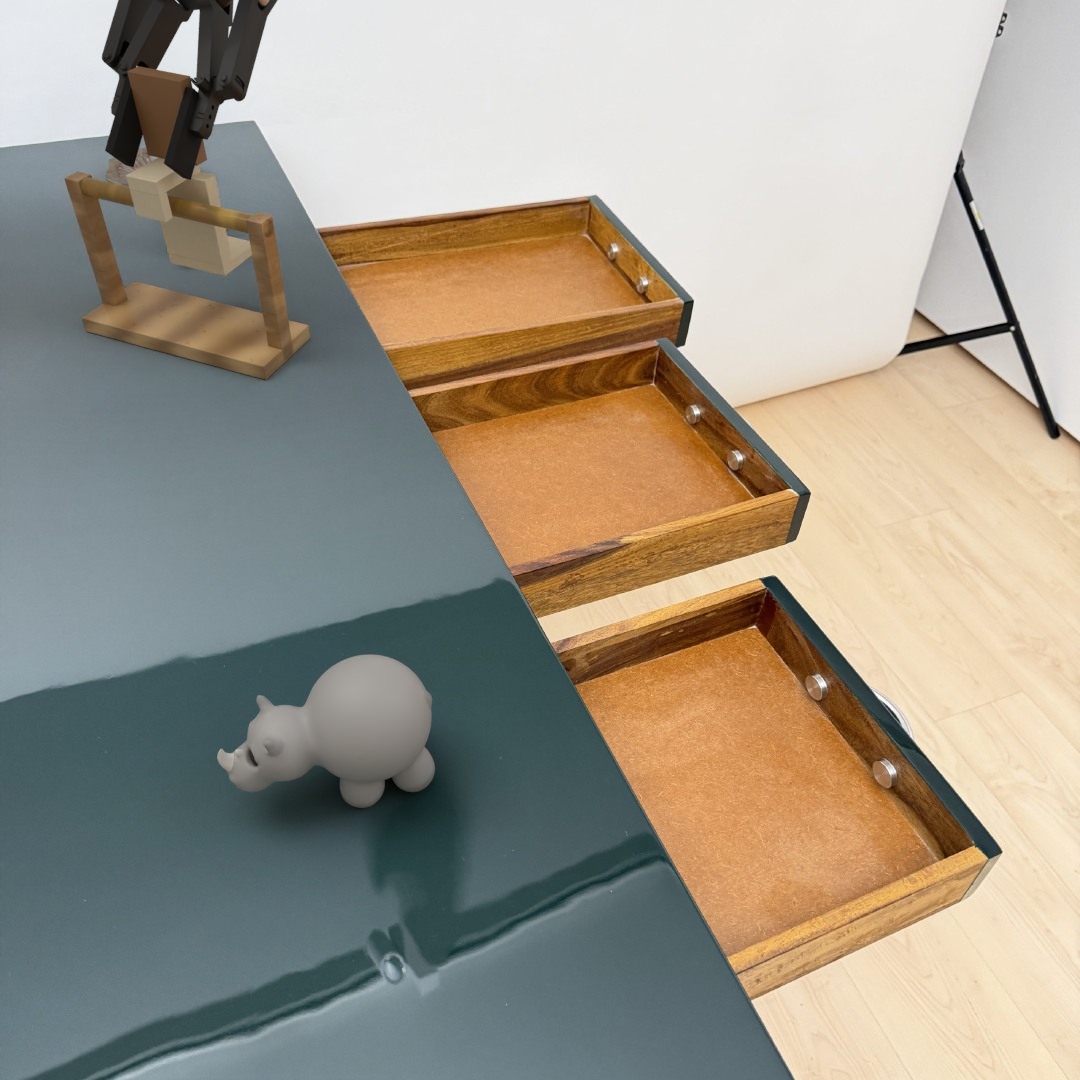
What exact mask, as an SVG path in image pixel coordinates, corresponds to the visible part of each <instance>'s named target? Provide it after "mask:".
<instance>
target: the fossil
mask: <svg viewBox="0 0 1080 1080" xmlns="http://www.w3.org/2000/svg"><path fill="white" fill-rule="evenodd" d="M149 162H151V159H150V156H149V155H148V154H147V149H146V146H143V147H139V150H138V153H137V157H136V160H135V164H134V167H130V166H126V165H124V164H123V163H122V162H120V161H119V160H117V159H116V158H115V157H112V158H110V159H108V168H107V170H106V173H105V181H107V182H111V183H116V184H120V185H124V186H128V182H127V178H126V175H128V174H130V173H131V172H133V171H135V170H137V169H139V168H140V167H142V166H144V165H146V164H148V163H149Z"/></svg>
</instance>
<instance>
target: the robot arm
mask: <svg viewBox="0 0 1080 1080" xmlns="http://www.w3.org/2000/svg"><path fill="white" fill-rule="evenodd" d="M234 2H235V1H234V0H117V3H116V7H115V9H114V14H113V16H112V20H111V24H110V26H109V29H108V32H107V33H108V34H107V37H106V39H105V44H104V47H103V49H102V54H101V61H102V62H103V63H104V64H105V65H107V66H108V67H109V68H110V69H111V70H112V71H114V72H115V73H116V74H117V75H118V80H117V81H118V82H117V84H116V88H115V92H114V96H113V99H112V102H111V105H110V114H111V115H113V116H114V118H113V121H112V125H111V128H110V131H109V135H108V138H107V142H106V146H105V149H104V151H105V152H106V153H108V154H109V155H110V156H112V158H114V157H115V158H116V159H117V160H119V161H120V162H122V163H123V164H124V165H126V166H130V167H134V164H135V160H136V157H137V153H138V150H139V148H140V146H141V142H142V139H143V133H142V129H141V125H140V121H139V117H138V113H137V109H136V105H135V101H134V97H133V93H132V89H131V85H130V81H129V77H128V73H127V71H129V70H131V69H134V68H136V67H138V66H140V67H145V68H150V69H155V70H158V68H159V67H160V64H161V62H162V60H163V58H164V57H165V55H166V53H167V51H168V49H169V47H170V46H171V44H172V43H173V42H172V41H173V40H174V38H175V36H176V35H177V33H178V30H179V28H180V27H181V25H182V24H183V23H187V22H188V21H190V18H191V16H192V15H193V13H194V11H199V14H198V15H199V17H198V33H197V34H198V35H197V36H198V37H197V55H196V56H197V57H196V76H195V77H190V78H191V83H192V85H193V86H195V87H196V88H197V89H198V90H196V89H195V88H194V87H192V88H190V87H186V88H185V91H184V95H183V97H182V101H181V104H180V108H179V111H178V115H177V118H176V122H175V125H174V129H173V132H172V136H171V140H170V143H169V147H168V150H167V154H166V157H165V161H164V164H165V165H166V166H168V167H169V168H170V169H172V170H173V171H174V172H176V173H177V174H178V175H180V176H181V177H182V178H184V179H189V180H191V177H192V174H193V170H194V167H195V163H196V160H197V156H198V153H199V149H200V146H201V142H202V139H203V140H206V141H207V140H209V138H210V137H211V136H212V133H213V129H214V125H215V122H216V119H217V116H218V112H219V108H220V106H221V105H223V104H224V102H226V101H230V100H234V101H236V102H242V101H244V100H245V98H246V96H247V93H248V89H249V86H250V83H251V78H252V75H253V71H254V67H255V64H256V60H257V56H258V53H259V49H260V45H261V41H262V38H263V34H264V30H265V27H266V23H267V19H268V16H269V15H270V13H271V12H272V11H273V8H274V7H275V5H276V4H277V2H278V0H238V1H237V5H236V8H235V12H234Z"/></svg>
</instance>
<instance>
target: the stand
mask: <svg viewBox="0 0 1080 1080" xmlns="http://www.w3.org/2000/svg"><path fill="white" fill-rule="evenodd" d="M64 182H65V186H66V188H67V192H68V195H69V198H70V201H71V205H72V209H73V211H74V213H75V214H74V215H75V218H76V220H77V224H78V227H79V230H80V234H81V238H82V240H83V243H84V245H85V249H86V253H87V256H88V259H89V262H90V266H91V269H92V271H93V276H94V278H95V281H96V284H97V289H98V291H99V295H100V298H101V301H102V303H101V304H99V305H98V306H96V307H95V308H94V309H92V310H91V311H89V312H88V313H86V314H85V315H83V316H81V322H82V324H83V327H84V331H85V332H88V333H91V334H95V335H98V336H101V337H106V338H109V339H113V340H117V341H121V342H124V343H127V344H132V345H135V346H139V347H143V348H145V349H146V348H147V349H150V350H154V351H158V352H161V353H165V354H168V355H172V356H176V357H180V358H184V359H187V360H191V361H194V362H198V363H202V364H205V365H210V366H213V367H216V368H220V369H224V370H228V371H232V372H236V373H239V374H242V375H247V376H250V377H254V378H256V379H257V378H258V379H261V380H264V381H266V380H268V379H269V378H270V377H271V376H272V375H274V374H275V372H277V370H279V369H280V368H281V367H283V365H284V364H285V363H286V362H287V361H288V360H289V359H290V358H291V357H292V356H293V355H295V354H296V353H297V352H298V351H299V350H300V349H301V348H302V347H303V346H304V345H305V344H306V343H307V342H308V341H309V340H311V333H310V325H309V324H306V323H301V322H298V321H295V320H294V321H293V320H289V315H288V308H287V307H288V306H287V301H286V294H285V288H284V283H283V275H282V274H283V273H282V268H281V263H280V255H279V250H278V242H277V236H276V229H275V223H274V217H273V214H268V213H265V212H259V211H257V212H256V213H254V214H251V213H246V212H242V211H239V210H234V209H229V208H225V207H222V206H221V207H216V206H212V205H207V204H203V203H199V202H194V201H190V200H186V199H181V198H177V197H172V196H168V195H167V196H168V200H169V204H170V208H171V212H172V216H175V217H179V218H184V219H188V220H192V221H196V222H201V223H205V224H209V225H214V226H218V227H222V228H226V230H231V231H234V232H235V231H236V232H238V233H239V232H240V233H244V234H248V239H249V240H248V241H250V246H251V251H252V256H251V257H252V262H253V263H252V264H253V269H254V273H255V279H256V285H257V291H258V296H259V301H260V308H261V312H259V311H254V310H250V309H246V308H242V307H238V306H235V305H230V304H226V303H222V302H219V301H214V300H210V299H207V298H202V297H199V296H195V295H191V294H187V293H183V292H180V291H175V290H171V289H167V288H165V287H164V288H163V287H161V286H155V285H151V284H147V283H144V282H140V281H133V282H132V283H130V284H128V285H127V286H126V287H125V286H124V285H125V284H124V282H123V278H122V276H121V272H120V268H119V265H118V261H117V259H116V255H115V251H114V248H113V244H112V240H111V238H110V237H111V236H110V234H109V230H108V227H107V224H106V221H105V217H104V214H103V211H102V207H101V203H100V200H103V201H107V202H111V203H115V204H119V205H124V206H129V207H133V208H134V204H133V200H132V196H131V193H130V189H129V186H124V185H120V184H116V183H111V182H108V181H107V180H102V179H97V178H93V176H92V174H91V173H87V172H82V171H78V170H77V171H76V172H74V173H71V174H70V175H68V176H66V177H64Z"/></svg>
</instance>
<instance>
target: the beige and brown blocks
mask: <svg viewBox="0 0 1080 1080" xmlns="http://www.w3.org/2000/svg"><path fill="white" fill-rule="evenodd" d="M127 73H128V77H129V81H130V85H131V89H132V93H133V97H134V101H135V105H136V109H137V113H138V117H139V121H140V125H141V129H142V133H143V136H142V138H143V141H144V145H145V147H146V149H147V154H148V155H149V156H154V157H158V158H156V159H155V160H153V161H151V162H149V163H148V164H146V165H144V166H142V167H140V168H139V169H137V170H135V171H133V172H131V173H130V174H128V175H126V178H127V182H128V186H129V189H130V193H131V196H132V200H133V204H134V207H133V208H134V210H135V211H134V212H135V215H136V216H137V217H141V218H146V219H149V220H153V221H157V222H158V221H159V223H160V228H161V231H162V236H163V239H164V243H165V247H166V251H167V254H168V260H169V262H170V264H173V265H177V266H182V267H186V268H191V269H194V270H198V271H202V272H206V273H210V274H215V275H218V276H223V277H226V276H227V275H228V274H230V273H232V271H234V270H235V269H236V268H237V267H239V266H240V265H241V264H243V263H244V262H245V261H247V260H248V259H250V258H251V257H252V251H251V246H250V240H246V239H243V238H238V237H233V236H231V235H228V234H227V229H226V228H222V227H218V226H214V225H209V224H205V223H201V222H196V221H192V220H188V219H184V218H179V217H175V216H172V212H171V208H170V204H169V200H168V196H172V197H177V198H181V199H186V200H190V201H194V202H199V203H203V204H207V205H212V206H216V207H221V208H222V204H221V199H220V194H219V188H218V183H217V179H216V175H215V174H212V173H207V172H203V171H201V168H200V165H201V164H203V163H204V162H207V160H208V157H207V151H206V147H205V142H204V139H202V142H201V146H200V149H199V153H198V156H197V160H196V163H195V167H194V170H193V174H192V177H191V180H189V179H184V178H182V177H181V176H180V175H178V174H177V173H176V172H174V171H173V170H172V169H170V168H169V167H168V166H166V165H165V164H164V161H165V157H166V154H167V150H168V147H169V143H170V140H171V136H172V132H173V129H174V125H175V122H176V118H177V115H178V111H179V108H180V104H181V101H182V97H183V95H184V91H185V88H186V87H190V88H193V83H192V81H191V78H192V77H191V76H190V75H187V74H182V73H175V72H170V71H166V70H160V69H157V70H155V69H150V68H145V67H140V66H138V67H136V68H134V69H131V70H129V71H127ZM167 195H168V196H167Z"/></svg>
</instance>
